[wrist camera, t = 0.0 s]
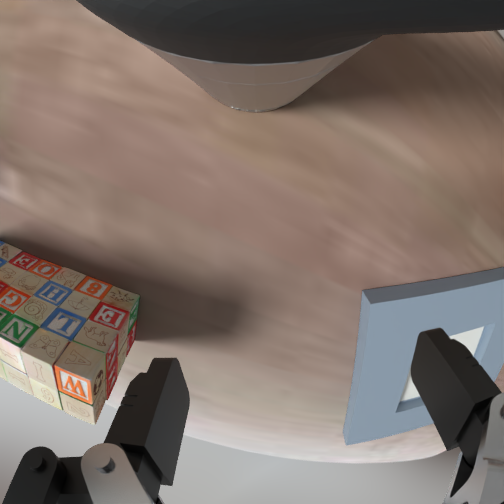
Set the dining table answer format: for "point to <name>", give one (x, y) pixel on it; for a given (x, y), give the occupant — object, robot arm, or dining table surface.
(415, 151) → the dining table surface
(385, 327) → the base board
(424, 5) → the robot arm
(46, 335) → the stack of blocks
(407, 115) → the dining table surface
